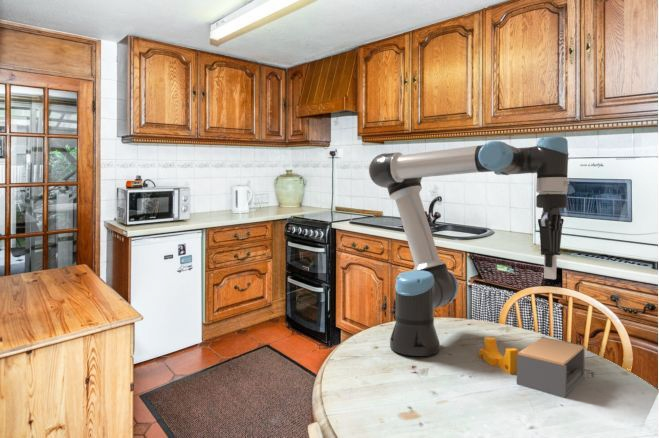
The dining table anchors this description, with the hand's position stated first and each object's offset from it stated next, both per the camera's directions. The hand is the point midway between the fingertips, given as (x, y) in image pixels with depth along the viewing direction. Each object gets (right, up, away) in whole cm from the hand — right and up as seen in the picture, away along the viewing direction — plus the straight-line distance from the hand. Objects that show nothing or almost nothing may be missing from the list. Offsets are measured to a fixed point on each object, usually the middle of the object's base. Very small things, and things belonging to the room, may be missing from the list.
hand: (550, 278), depth 113 cm
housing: (-4, -25, -8) cm, 27 cm away
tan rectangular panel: (-4, -18, -8) cm, 20 cm away
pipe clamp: (-13, -26, +3) cm, 29 cm away
